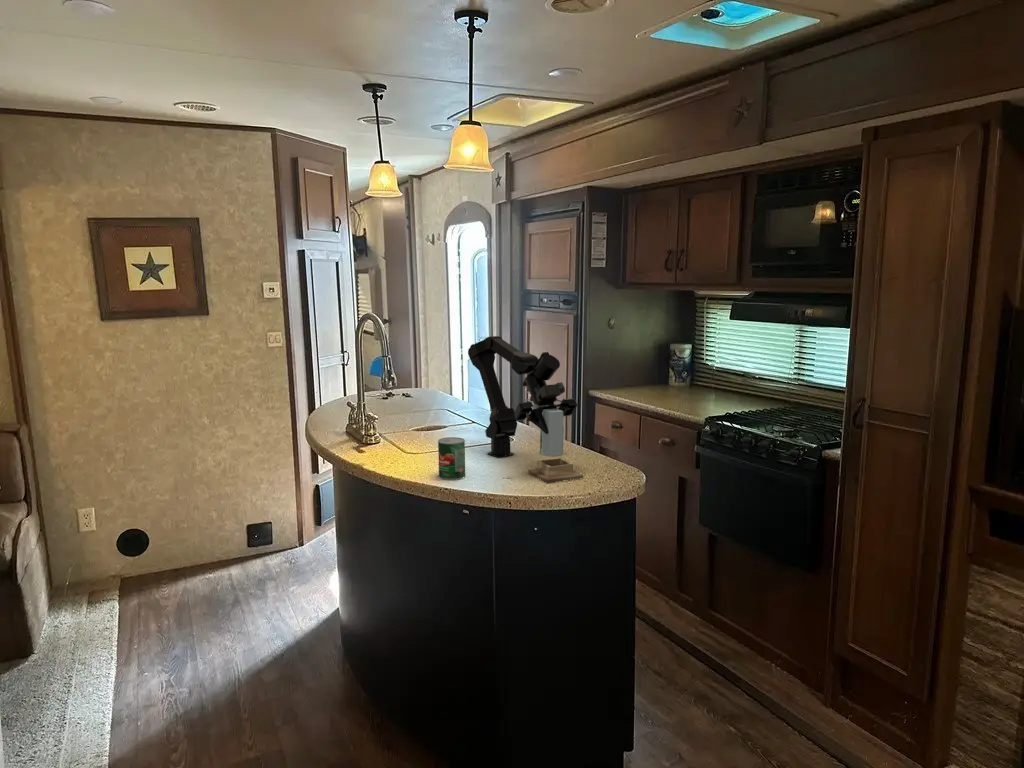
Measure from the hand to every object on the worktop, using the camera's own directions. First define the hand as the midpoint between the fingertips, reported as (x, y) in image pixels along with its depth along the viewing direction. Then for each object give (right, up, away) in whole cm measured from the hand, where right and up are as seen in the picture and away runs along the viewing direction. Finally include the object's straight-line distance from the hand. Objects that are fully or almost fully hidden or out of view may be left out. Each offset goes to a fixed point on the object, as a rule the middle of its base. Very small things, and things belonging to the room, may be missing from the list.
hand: (554, 432), depth 199 cm
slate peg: (-1, -6, +2) cm, 7 cm away
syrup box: (+1, -9, +30) cm, 31 cm away
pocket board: (0, -13, +4) cm, 14 cm away
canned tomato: (-30, -13, +3) cm, 33 cm away
